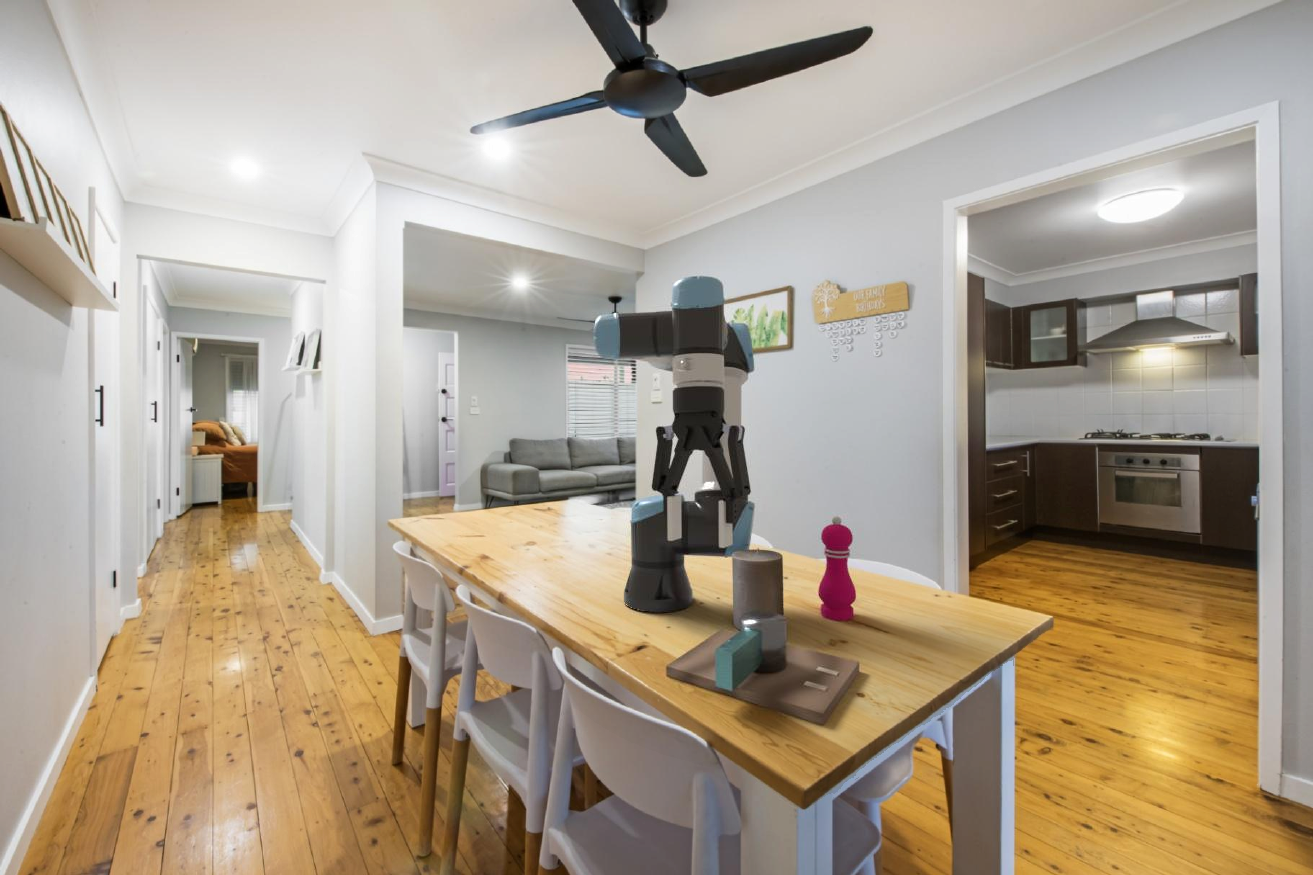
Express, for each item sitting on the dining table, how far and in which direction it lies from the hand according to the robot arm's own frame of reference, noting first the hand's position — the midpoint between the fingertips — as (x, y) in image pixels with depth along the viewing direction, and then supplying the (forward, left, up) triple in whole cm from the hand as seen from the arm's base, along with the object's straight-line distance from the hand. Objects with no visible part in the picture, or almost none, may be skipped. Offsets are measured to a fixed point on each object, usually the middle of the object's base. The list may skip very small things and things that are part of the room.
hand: (699, 542), depth 77 cm
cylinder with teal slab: (+6, +4, -19) cm, 21 cm away
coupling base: (+6, +9, -21) cm, 24 cm away
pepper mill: (+8, +41, -21) cm, 47 cm away
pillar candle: (-3, +27, -21) cm, 35 cm away
